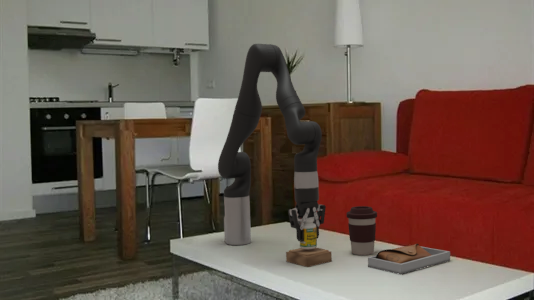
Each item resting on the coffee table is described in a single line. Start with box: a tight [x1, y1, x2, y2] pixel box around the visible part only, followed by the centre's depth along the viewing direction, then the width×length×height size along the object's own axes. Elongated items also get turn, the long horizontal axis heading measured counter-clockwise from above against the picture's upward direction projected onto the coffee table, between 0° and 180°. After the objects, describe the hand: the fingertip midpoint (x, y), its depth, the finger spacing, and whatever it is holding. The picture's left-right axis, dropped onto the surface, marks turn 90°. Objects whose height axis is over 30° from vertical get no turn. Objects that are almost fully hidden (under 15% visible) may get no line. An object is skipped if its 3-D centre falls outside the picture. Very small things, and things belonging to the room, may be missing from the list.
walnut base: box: [285, 247, 333, 268], centre depth 187 cm, size 10×10×4 cm
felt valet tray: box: [367, 245, 451, 275], centre depth 180 cm, size 13×23×3 cm, turn 128°
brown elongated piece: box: [375, 243, 432, 264], centre depth 180 cm, size 18×7×7 cm
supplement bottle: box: [299, 217, 318, 249], centre depth 187 cm, size 5×5×10 cm
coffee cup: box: [346, 205, 378, 256], centre depth 196 cm, size 10×10×15 cm
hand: (308, 239), depth 187 cm, fingers closed on supplement bottle, 5 cm apart
